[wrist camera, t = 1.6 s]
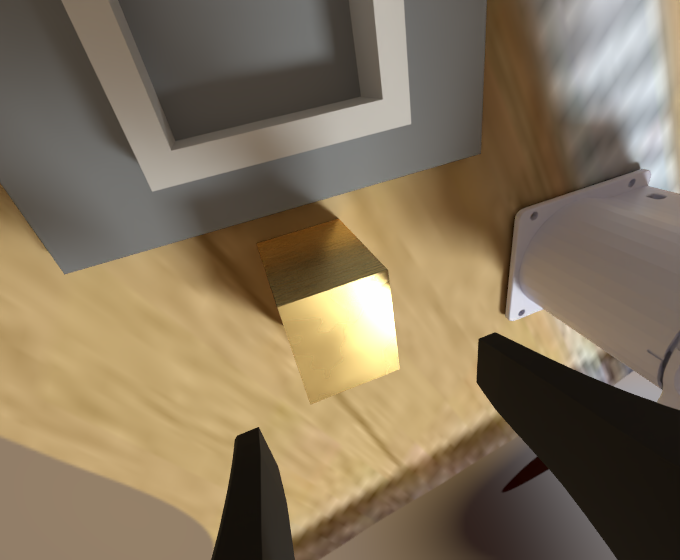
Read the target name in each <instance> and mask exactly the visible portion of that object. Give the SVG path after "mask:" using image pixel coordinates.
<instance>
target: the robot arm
mask: <svg viewBox="0 0 680 560" xmlns="http://www.w3.org/2000/svg"><path fill="white" fill-rule="evenodd" d="M650 177H651V172H650V171H649V170H646V169H641V170H637V171H634V172H631V173H628V174H625V175H622V176H619V177H616V178H613V179H610V180H607V181H604V182H601V183H598V184H595V185H592V186H589V187H586V188H583V189H580V190H577V191H574V192H571V193H568V194H565V195H562V196H559V197H556V198H553V199H550V200H547V201H544V202H541V203H538V204H535V205H532V206H529V207H526V208H523V209H521V210H520V211H519V212H518V213H517V214H516V216H515V223H514V233H513V243H512V253H511V263H510V273H509V283H508V293H507V303H506V314H505V316H506V318H507V319H508V320H510V321H515V320H517V319H520V318H522V317H525V316H527V315H530V314H532V313H535V312H537V311H540V310H542V309H544V310H546V311H547V312H549V313H550V314H552V315H553V316H554V317H556V318H557V319H559V320H560V321H562V322H563V323H565V324H566V325H568V326H569V327H571V328H572V329H574V330H575V331H577V332H578V333H579V334H581V335H582V336H584V337H585V338H587V339H588V340H590V341H591V342H593V343H594V344H596V345H597V346H599V347H600V348H602V349H603V350H604V351H606V352H607V353H609V354H610V355H612V356H613V357H615V358H616V359H618V360H619V361H621V362H622V363H624V364H625V365H627V366H628V367H630V368H631V369H632V370H634V371H635V372H637V373H638V374H640V375H641V376H643V377H644V378H646V379H647V380H649V381H650V382H652V383H653V384H655V385H656V386H658V387H659V388H661V389H662V390H663V391H662V394H661V396H660V398H659V399H658V401H657V402H654V401H651V400H648V399H645V398H642V397H640V396H637V395H634V394H631V393H629V392H626V391H623V390H621V389H618V388H616V387H613V386H611V385H609V384H606V383H604V382H601V381H599V380H596V379H594V378H592V377H589V376H587V375H585V374H582V373H580V372H578V371H576V370H573V369H571V368H569V367H567V366H565V365H562V364H560V363H558V362H556V361H554V360H552V359H549V358H547V357H545V356H543V355H541V354H539V353H537V352H535V351H533V350H531V349H529V348H527V347H525V346H523V345H520V344H518V343H516V342H514V341H512V340H510V339H508V338H506V337H504V336H502V335H500V334H498V333H492V334H490V335H487V336H485V337H482V338H480V339H479V342H478V363H477V384H478V385H479V387H480V388H481V389H482V391H483V392H484V394H485V395H486V397H487V398H488V400H489V401H490V402H491V404H492V405H493V406H494V408H495V409H496V410H497V412H498V413H499V414H500V415H501V416H502V417H503V418H504V420H505V421H506V422H507V423H508V424H509V425H510V426H511V427H512V429H513V430H514V431H515V432H516V433H517V434H518V435H519V436H520V437H521V438H522V440H523V441H524V442H525V443H526V444H527V445H528V446H529V447H530V448H531V449H532V450H533V452H534V453H535V454H536V455H537V456H538V457H539V458H540V459H541V461H542V462H543V463H544V464H545V465H546V466H547V467H548V468H549V469H550V471H551V472H552V473H553V474H554V475H555V476H556V478H557V479H558V480H559V481H560V482H561V483H562V485H563V486H564V487H565V489H566V490H567V491H568V493H569V494H570V495H571V497H572V498H573V499H574V501H575V502H576V503H577V505H578V506H579V507H580V508H581V510H582V511H583V512H584V514H585V515H586V516H587V518H588V519H589V521H590V522H591V523H592V525H593V526H594V527H595V529H596V530H597V532H598V533H599V534H600V536H601V537H602V538H603V540H604V541H605V542H606V544H607V545H608V547H609V548H610V549H611V551H612V552H613V554H614V555H615V557H616V558H617V559H618V560H680V194H678V193H674V192H670V191H666V190H662V189H658V188H654V187H650V186H648V184H649V181H650ZM532 213H533V214H532ZM531 215H532V216H531ZM211 560H295V558H294V551H293V544H292V536H291V529H290V522H289V515H288V508H287V502H286V498H285V493H284V489H283V485H282V481H281V477H280V472H279V468H278V465H277V463H276V461H275V459H274V457H273V455H272V453H271V451H270V449H269V447H268V445H267V443H266V441H265V439H264V437H263V435H262V433H261V431H260V429H259V427H258V428H255V429H253V430H250V431H248V432H245V433H243V434H240V435H238V436H237V437H236V439H235V443H234V453H233V460H232V467H231V473H230V479H229V485H228V490H227V495H226V500H225V505H224V509H223V514H222V519H221V523H220V528H219V532H218V536H217V540H216V543H215V547H214V551H213V555H212V559H211Z"/></svg>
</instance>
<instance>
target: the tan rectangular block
mask: <svg viewBox="0 0 680 560" xmlns="http://www.w3.org/2000/svg"><path fill="white" fill-rule="evenodd" d="M257 246H258V249H259V253H260V256H261V259H262V262H263V265H264V268H265V271H266V274H267V277H268V280H269V283H270V286H271V289H272V293H273V296H274V299H275V302H276V305H277V308H278V311H279V314H280V317H281V320H282V323H283V326H284V328H285V331H286V334H287V337H288V340H289V343H290V346H291V349H292V352H293V355H294V358H295V361H296V364H297V367H298V369H299V372H300V375H301V378H302V381H303V384H304V387H305V390H306V393H307V396H308V399H309V402H310V404H313V403H315V402H318V401H320V400H323V399H325V398H328V397H331V396H333V395H336V394H338V393H341V392H343V391H346V390H348V389H351V388H353V387H356V386H358V385H361V384H363V383H366V382H368V381H371V380H373V379H376V378H378V377H381V376H383V375H386V374H388V373H391V372H393V371H396V370H398V369H400V367H399V358H398V350H397V342H396V333H395V325H394V317H393V308H392V300H391V292H390V283H389V275H388V270H387V268H386V267H385V266H384V265H383V264H382V263H381V262H380V261H379V260H378V259H377V258H376V257H375V256H374V255H373V254H372V253H371V252H370V251H369V250H368V249H367V248H366V247H365V246H364V244H363V243H362V242H361V241H360V240H359V239H358V238H357V237H356V236H355V235H354V234H353V233H352V232H351V231H350V230H349V229H348V228H347V227H346V226H345V225H344V224H343V223H342V222H341V220H340V219H335V220H332V221H329V222H326V223H322V224H319V225H316V226H312V227H309V228H306V229H302V230H299V231H296V232H293V233H289V234H286V235H283V236H279V237H276V238H273V239H269V240H266V241H263V242H260V243H257Z"/></svg>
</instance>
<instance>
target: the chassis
mask: <svg viewBox="0 0 680 560" xmlns="http://www.w3.org/2000/svg"><path fill="white" fill-rule="evenodd" d="M486 9H487V0H0V183H1V185H2V186H3V188H4V189H5V190H6V192H7V193H8V195H9V196H10V198H11V199H12V200H13V202H14V203H15V205H16V206H17V208H18V209H19V210H20V212H21V213H22V215H23V216H24V217H25V219H26V220H27V222H28V223H29V225H30V226H31V227H32V229H33V230H34V232H35V233H36V234H37V236H38V237H39V239H40V240H41V242H42V243H43V244H44V246H45V247H46V249H47V250H48V251H49V253H50V254H51V256H52V257H53V259H54V260H55V261H56V263H57V264H58V266H59V267H60V269H61V270H62V271H63V273H64V274H68V273H71V272H74V271H78V270H81V269H85V268H88V267H92V266H95V265H99V264H102V263H105V262H109V261H112V260H116V259H119V258H123V257H126V256H130V255H133V254H137V253H140V252H143V251H147V250H150V249H154V248H157V247H161V246H164V245H168V244H171V243H174V242H178V241H181V240H185V239H188V238H192V237H195V236H199V235H202V234H205V233H209V232H212V231H216V230H219V229H223V228H226V227H230V226H233V225H237V224H240V223H243V222H247V221H250V220H254V219H257V218H261V217H264V216H268V215H271V214H274V213H278V212H281V211H285V210H288V209H292V208H295V207H299V206H302V205H306V204H309V203H312V202H316V201H319V200H323V199H326V198H330V197H333V196H337V195H340V194H343V193H347V192H350V191H354V190H357V189H361V188H364V187H368V186H371V185H374V184H378V183H381V182H385V181H388V180H392V179H395V178H399V177H402V176H406V175H409V174H412V173H416V172H419V171H423V170H426V169H430V168H433V167H437V166H440V165H443V164H447V163H450V162H454V161H457V160H461V159H464V158H468V157H471V156H474V155H478V154H481V137H482V112H483V86H484V60H485V35H486Z"/></svg>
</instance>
